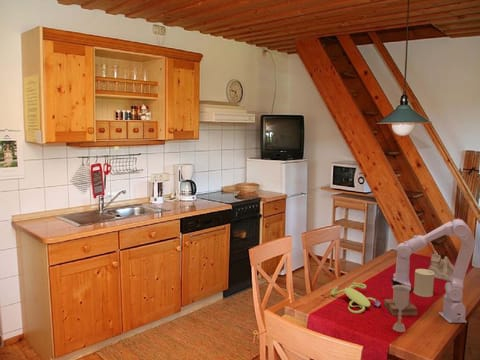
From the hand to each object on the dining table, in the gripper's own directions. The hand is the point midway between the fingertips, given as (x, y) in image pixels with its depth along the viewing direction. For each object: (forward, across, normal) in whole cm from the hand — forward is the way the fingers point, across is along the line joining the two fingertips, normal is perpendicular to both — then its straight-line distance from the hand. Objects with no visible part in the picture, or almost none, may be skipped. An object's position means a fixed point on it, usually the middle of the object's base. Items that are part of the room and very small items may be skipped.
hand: (400, 297), depth 196 cm
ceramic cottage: (+6, -45, +44) cm, 63 cm away
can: (+6, -19, +20) cm, 28 cm away
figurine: (+6, -11, -18) cm, 22 cm away
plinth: (+6, 0, 0) cm, 6 cm away
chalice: (+6, +18, -8) cm, 21 cm away
